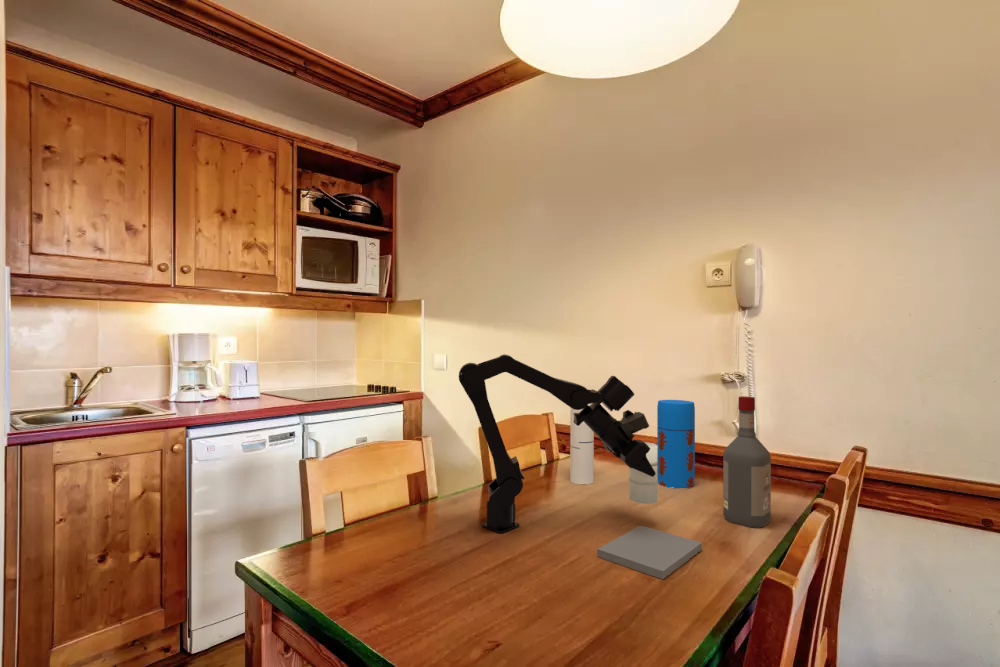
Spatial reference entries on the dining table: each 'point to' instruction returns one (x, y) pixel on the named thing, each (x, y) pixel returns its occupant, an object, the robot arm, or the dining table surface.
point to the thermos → (676, 443)
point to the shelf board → (650, 551)
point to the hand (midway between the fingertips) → (648, 471)
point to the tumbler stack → (644, 480)
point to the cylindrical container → (581, 452)
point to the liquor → (747, 473)
